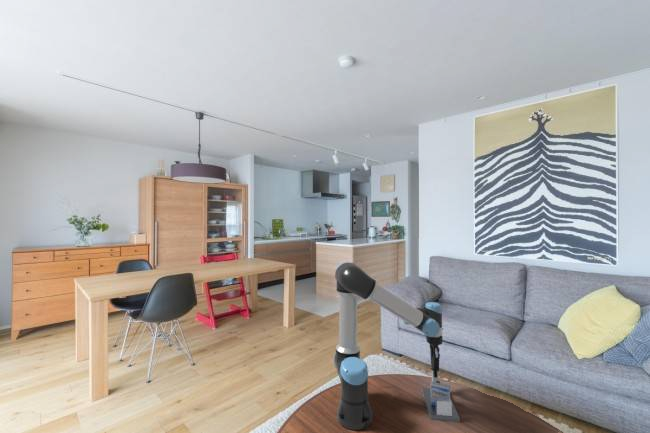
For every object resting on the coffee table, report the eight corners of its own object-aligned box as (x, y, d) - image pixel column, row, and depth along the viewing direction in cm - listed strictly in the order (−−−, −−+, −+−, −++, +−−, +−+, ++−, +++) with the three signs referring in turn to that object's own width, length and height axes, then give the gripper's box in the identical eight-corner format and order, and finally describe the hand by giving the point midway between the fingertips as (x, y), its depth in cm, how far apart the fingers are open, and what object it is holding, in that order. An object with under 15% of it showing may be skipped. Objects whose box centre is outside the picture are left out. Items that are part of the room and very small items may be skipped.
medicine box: (430, 405, 130) (430, 385, 131) (431, 399, 135) (431, 380, 135) (449, 410, 127) (449, 390, 127) (450, 404, 131) (449, 384, 131)
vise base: (430, 418, 124) (429, 401, 124) (421, 390, 144) (421, 375, 145) (459, 421, 122) (459, 403, 122) (447, 392, 142) (446, 377, 143)
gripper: (445, 340, 137) (446, 390, 136) (439, 330, 150) (440, 376, 149) (428, 339, 138) (429, 389, 138) (424, 329, 151) (425, 374, 150)
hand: (435, 382), depth 143 cm, fingers closed
